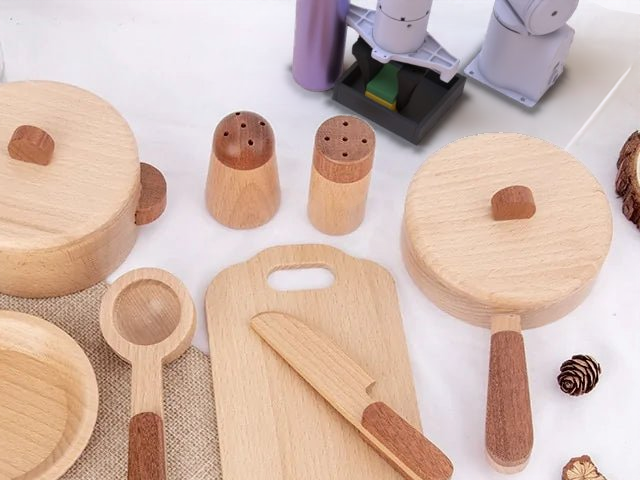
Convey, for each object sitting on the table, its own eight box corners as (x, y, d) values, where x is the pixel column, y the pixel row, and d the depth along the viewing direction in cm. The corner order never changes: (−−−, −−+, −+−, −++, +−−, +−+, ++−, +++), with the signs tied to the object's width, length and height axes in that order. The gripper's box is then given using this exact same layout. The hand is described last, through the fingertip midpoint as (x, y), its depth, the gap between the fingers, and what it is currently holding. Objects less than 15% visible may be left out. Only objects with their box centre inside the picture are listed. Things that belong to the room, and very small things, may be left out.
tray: (461, 96, 128) (466, 77, 125) (415, 148, 124) (419, 129, 121) (379, 52, 131) (382, 33, 128) (331, 101, 127) (333, 82, 124)
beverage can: (336, 98, 127) (348, -4, 114) (287, 90, 128) (293, -13, 115) (345, 62, 130) (357, -42, 117) (297, 54, 131) (303, -51, 117)
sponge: (409, 98, 127) (414, 76, 124) (389, 120, 125) (393, 98, 122) (383, 84, 128) (387, 62, 125) (363, 106, 126) (366, 84, 123)
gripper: (326, -6, 114) (316, 88, 126) (443, 54, 110) (421, 146, 122) (363, -42, 117) (350, 54, 129) (478, 16, 113) (454, 109, 125)
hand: (387, 97), depth 126 cm, fingers closed on sponge, 3 cm apart
